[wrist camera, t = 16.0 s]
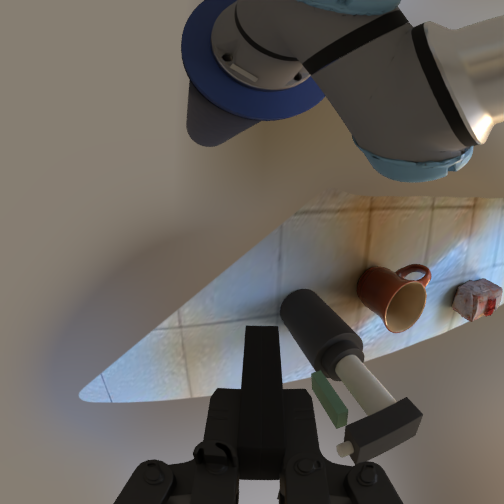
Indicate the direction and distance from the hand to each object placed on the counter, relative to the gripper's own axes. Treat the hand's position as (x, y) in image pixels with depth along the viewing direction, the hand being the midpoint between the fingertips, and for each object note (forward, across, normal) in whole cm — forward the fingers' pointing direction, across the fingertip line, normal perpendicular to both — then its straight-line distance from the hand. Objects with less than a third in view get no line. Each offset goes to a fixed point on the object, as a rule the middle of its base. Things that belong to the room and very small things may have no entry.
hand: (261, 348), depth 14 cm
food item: (+41, +51, -21) cm, 69 cm away
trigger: (+13, +7, -16) cm, 21 cm away
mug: (+34, +21, -13) cm, 42 cm away
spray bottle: (+29, +6, -17) cm, 35 cm away
